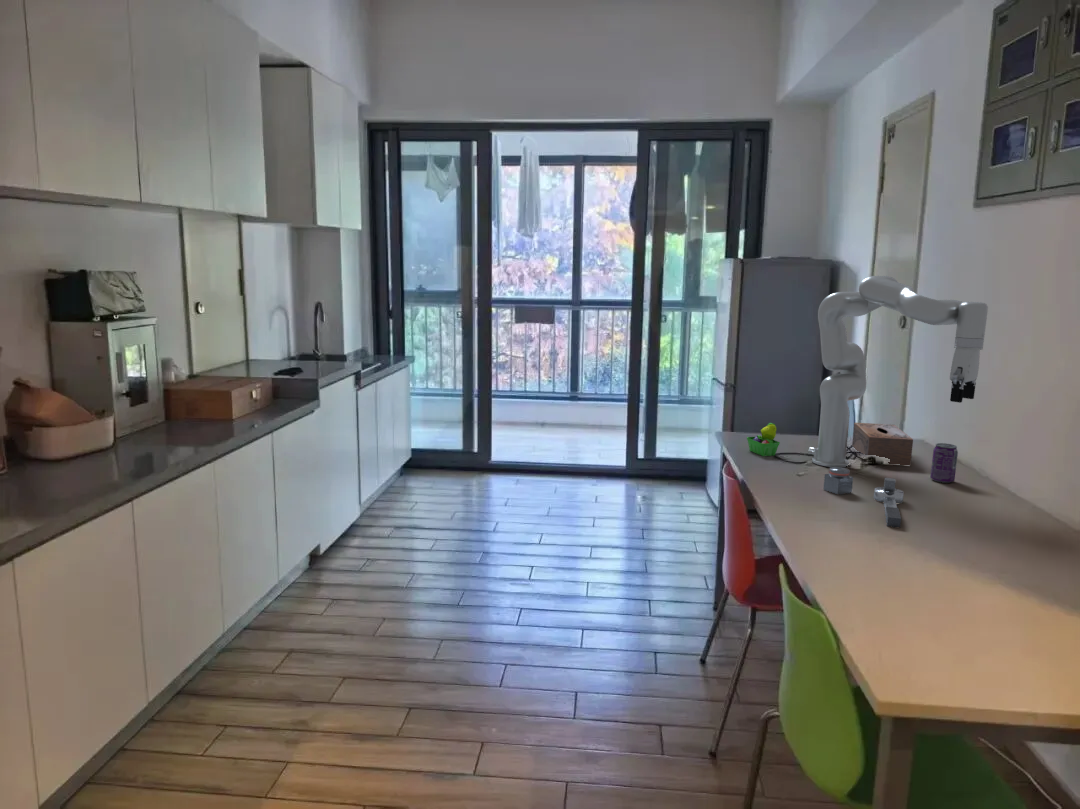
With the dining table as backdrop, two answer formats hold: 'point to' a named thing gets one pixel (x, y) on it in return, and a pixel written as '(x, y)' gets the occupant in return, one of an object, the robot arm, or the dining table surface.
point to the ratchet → (890, 501)
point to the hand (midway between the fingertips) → (961, 400)
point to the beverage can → (944, 463)
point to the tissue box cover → (883, 442)
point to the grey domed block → (838, 480)
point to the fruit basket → (764, 441)
